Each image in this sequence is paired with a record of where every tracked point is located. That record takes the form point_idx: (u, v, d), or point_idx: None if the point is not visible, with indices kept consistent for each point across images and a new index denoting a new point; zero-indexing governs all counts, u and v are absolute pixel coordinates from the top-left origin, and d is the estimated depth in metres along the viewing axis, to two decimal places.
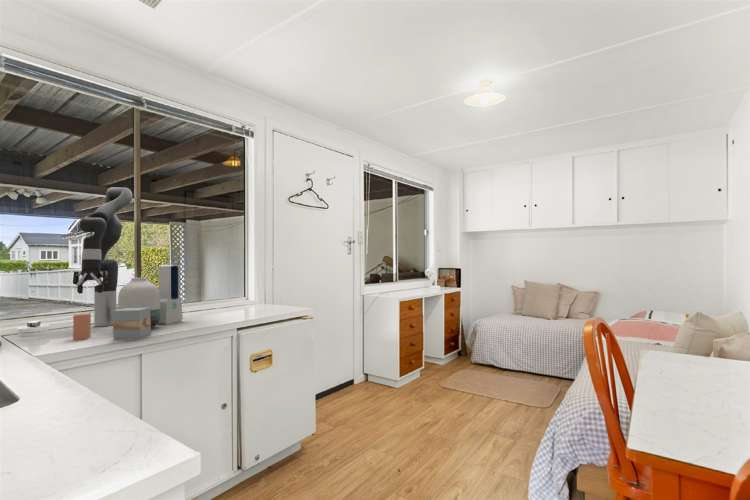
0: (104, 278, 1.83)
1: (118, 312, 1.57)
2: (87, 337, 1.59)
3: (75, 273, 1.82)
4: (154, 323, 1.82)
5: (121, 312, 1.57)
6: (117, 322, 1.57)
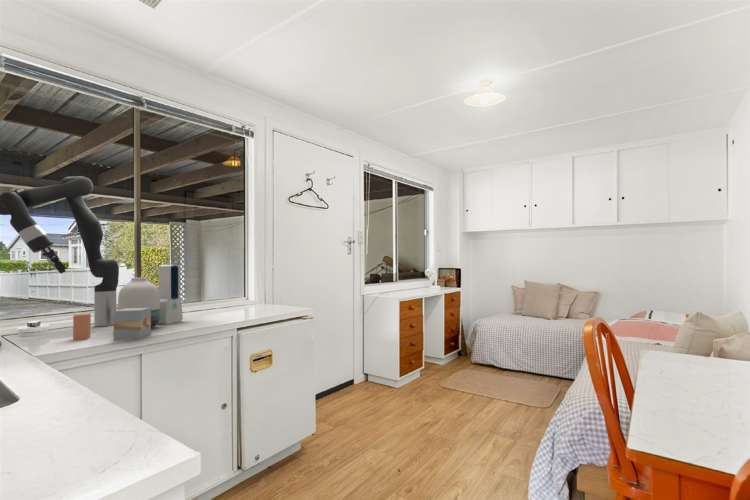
0: (48, 257, 1.54)
1: (119, 312, 1.57)
2: (87, 337, 1.59)
3: None
4: (154, 323, 1.82)
5: (122, 312, 1.57)
6: (118, 322, 1.57)
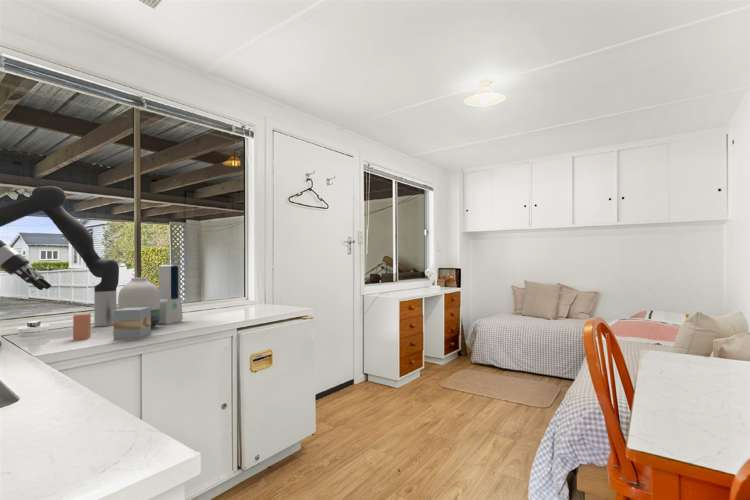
0: None
1: (118, 312, 1.57)
2: (87, 337, 1.59)
3: None
4: (154, 323, 1.82)
5: (121, 312, 1.57)
6: (117, 322, 1.57)
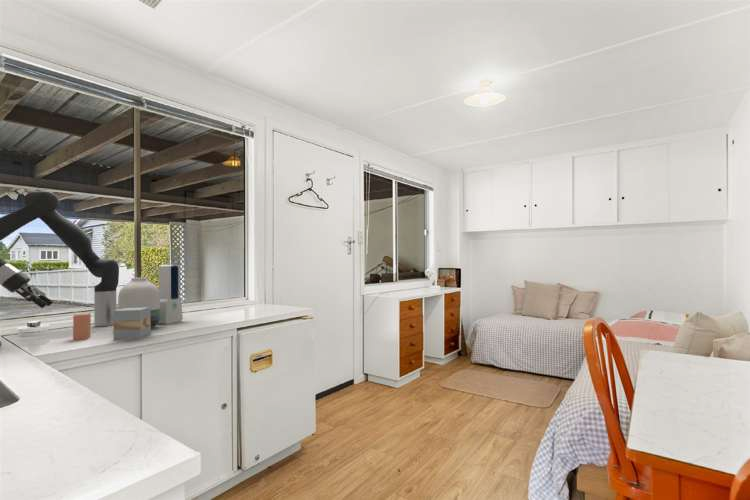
0: None
1: (118, 312, 1.57)
2: (87, 337, 1.59)
3: None
4: (154, 323, 1.82)
5: (121, 312, 1.57)
6: (117, 322, 1.57)
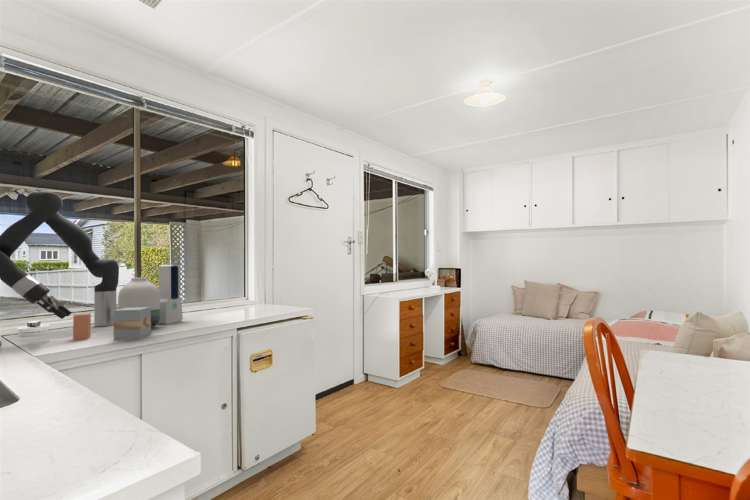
0: None
1: (119, 311, 1.57)
2: (87, 337, 1.59)
3: None
4: (154, 323, 1.82)
5: (122, 312, 1.57)
6: (117, 322, 1.57)
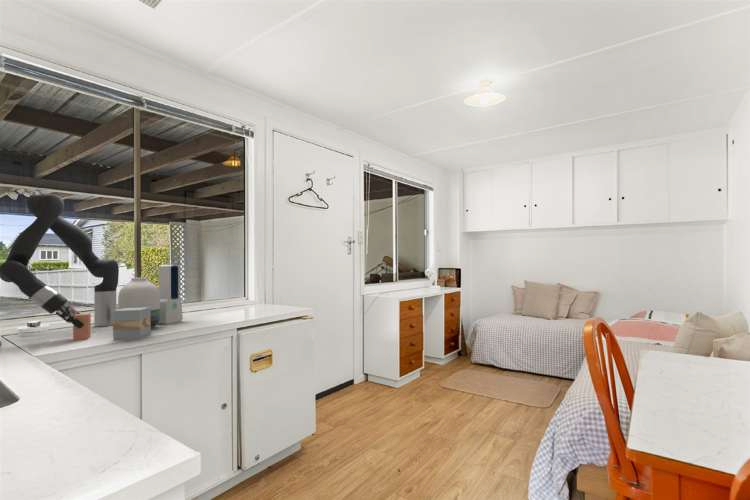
0: None
1: (118, 312, 1.57)
2: (87, 337, 1.59)
3: None
4: (154, 323, 1.82)
5: (121, 312, 1.57)
6: (117, 322, 1.57)
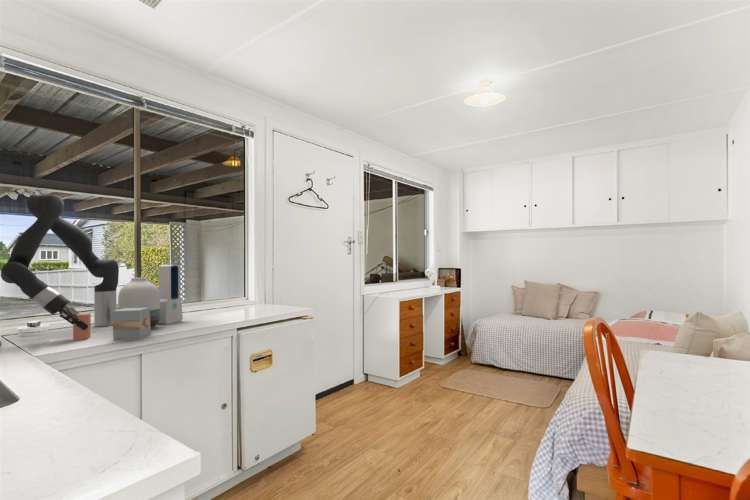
0: None
1: (118, 312, 1.57)
2: (87, 337, 1.59)
3: None
4: (154, 323, 1.82)
5: (121, 312, 1.57)
6: (117, 322, 1.57)
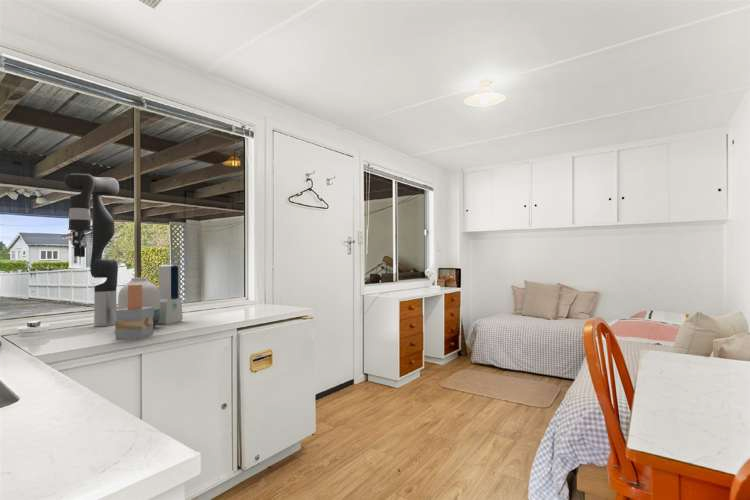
0: None
1: (121, 311, 1.58)
2: (141, 307, 1.62)
3: None
4: (154, 323, 1.82)
5: (124, 311, 1.58)
6: (119, 321, 1.58)
